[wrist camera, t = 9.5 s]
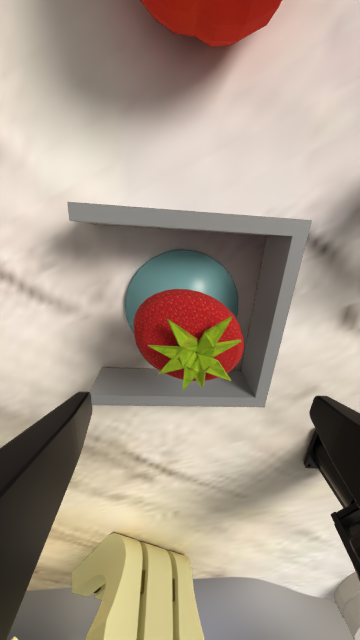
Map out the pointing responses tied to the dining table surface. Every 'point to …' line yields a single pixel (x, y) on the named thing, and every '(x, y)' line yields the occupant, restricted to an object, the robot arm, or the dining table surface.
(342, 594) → the dish
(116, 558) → the slatted curved stool
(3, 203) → the dining table surface
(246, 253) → the dining table surface
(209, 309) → the strawberry
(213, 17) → the tomato
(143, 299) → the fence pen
